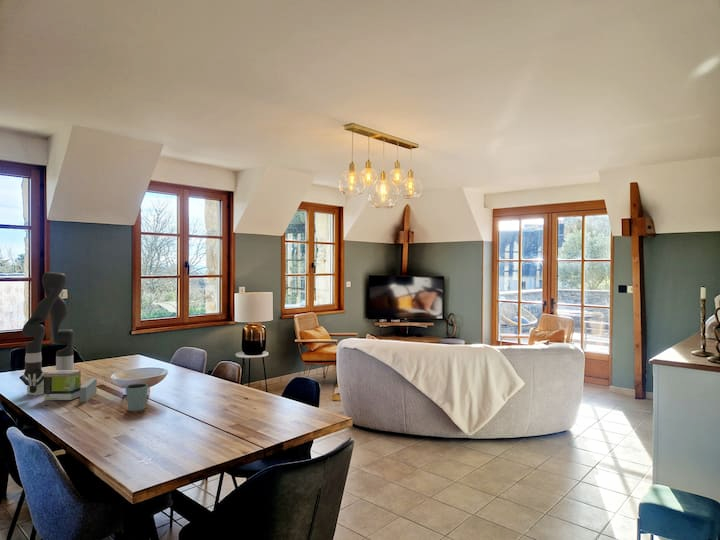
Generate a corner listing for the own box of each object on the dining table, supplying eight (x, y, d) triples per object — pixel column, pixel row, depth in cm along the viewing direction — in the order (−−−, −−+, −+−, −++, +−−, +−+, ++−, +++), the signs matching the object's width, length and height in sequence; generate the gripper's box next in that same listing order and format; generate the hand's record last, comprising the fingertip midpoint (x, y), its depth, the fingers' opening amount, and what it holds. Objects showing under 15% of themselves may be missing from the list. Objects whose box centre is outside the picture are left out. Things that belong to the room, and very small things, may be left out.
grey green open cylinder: (151, 407, 254) (151, 384, 253) (134, 412, 245) (134, 389, 245) (138, 405, 258) (138, 382, 258) (121, 409, 249) (121, 386, 249)
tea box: (81, 396, 274) (81, 369, 274) (71, 400, 264) (71, 373, 264) (53, 396, 274) (54, 369, 274) (42, 400, 264) (43, 373, 264)
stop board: (90, 392, 283) (90, 378, 283) (96, 391, 284) (96, 378, 283) (80, 402, 262) (80, 387, 261) (86, 402, 262) (86, 387, 262)
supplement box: (26, 394, 276) (26, 372, 276) (39, 391, 283) (39, 369, 283) (35, 396, 273) (35, 373, 273) (48, 392, 280) (48, 371, 280)
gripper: (49, 359, 270) (49, 390, 270) (22, 359, 267) (22, 391, 267) (44, 361, 263) (44, 393, 263) (16, 362, 260) (16, 395, 260)
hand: (33, 392), depth 265 cm, fingers closed
